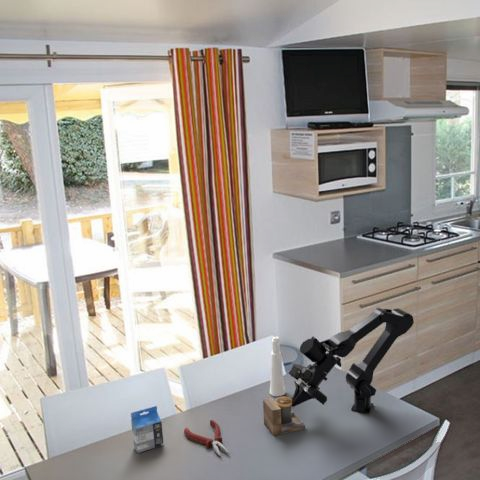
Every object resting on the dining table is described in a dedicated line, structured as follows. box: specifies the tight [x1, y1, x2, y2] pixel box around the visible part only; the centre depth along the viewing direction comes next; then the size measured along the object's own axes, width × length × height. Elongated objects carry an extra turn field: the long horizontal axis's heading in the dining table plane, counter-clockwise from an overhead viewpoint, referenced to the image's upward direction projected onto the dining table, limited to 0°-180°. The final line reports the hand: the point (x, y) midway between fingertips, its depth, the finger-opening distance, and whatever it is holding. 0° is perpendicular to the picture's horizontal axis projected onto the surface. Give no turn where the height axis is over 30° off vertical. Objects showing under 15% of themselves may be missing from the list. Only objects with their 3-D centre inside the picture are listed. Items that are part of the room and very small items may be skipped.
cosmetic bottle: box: [268, 336, 287, 397], centre depth 214 cm, size 6×6×22 cm
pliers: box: [183, 419, 230, 458], centre depth 186 cm, size 12×20×3 cm, turn 28°
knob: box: [275, 396, 295, 427], centre depth 192 cm, size 5×6×8 cm
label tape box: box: [130, 405, 165, 454], centre depth 184 cm, size 9×4×12 cm, turn 118°
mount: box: [262, 397, 306, 437], centre depth 192 cm, size 12×8×9 cm
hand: (291, 405), depth 193 cm, fingers closed, pressing on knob
